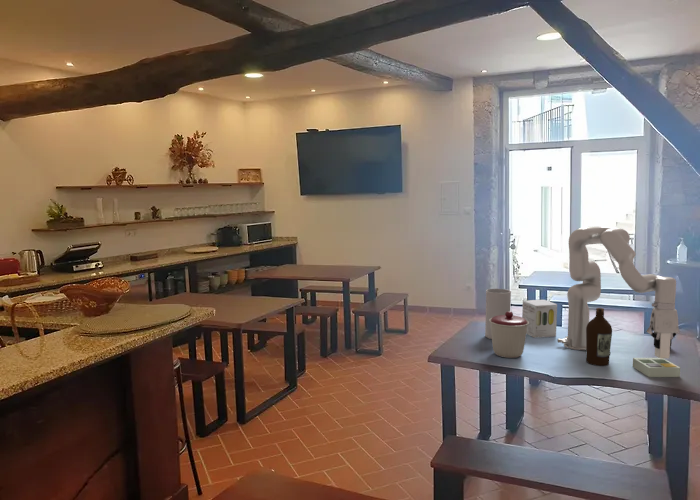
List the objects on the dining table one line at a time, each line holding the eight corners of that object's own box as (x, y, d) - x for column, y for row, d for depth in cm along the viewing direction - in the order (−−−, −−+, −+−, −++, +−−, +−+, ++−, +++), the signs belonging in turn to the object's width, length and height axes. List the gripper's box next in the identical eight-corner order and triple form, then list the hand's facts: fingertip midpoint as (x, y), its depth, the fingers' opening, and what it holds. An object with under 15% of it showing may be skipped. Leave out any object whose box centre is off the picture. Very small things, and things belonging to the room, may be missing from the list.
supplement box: (534, 338, 283) (535, 305, 280) (521, 331, 295) (522, 300, 293) (556, 336, 285) (558, 304, 283) (543, 330, 298) (544, 299, 296)
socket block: (648, 377, 224) (649, 367, 224) (632, 366, 237) (633, 357, 237) (679, 376, 224) (680, 366, 224) (661, 366, 237) (662, 357, 237)
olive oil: (579, 359, 247) (582, 306, 244) (599, 358, 249) (602, 305, 246) (595, 367, 236) (597, 311, 233) (615, 365, 239) (618, 310, 236)
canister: (486, 358, 249) (487, 314, 247) (490, 347, 266) (491, 306, 264) (527, 362, 243) (528, 317, 241) (528, 351, 260) (530, 308, 258)
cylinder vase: (512, 340, 278) (513, 293, 275) (488, 340, 278) (489, 293, 275) (505, 333, 291) (507, 288, 288) (482, 334, 291) (483, 288, 288)
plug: (659, 358, 229) (661, 326, 228) (654, 355, 233) (656, 324, 232) (669, 358, 229) (671, 326, 228) (663, 355, 233) (665, 324, 232)
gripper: (649, 308, 225) (647, 350, 227) (689, 307, 225) (687, 350, 227) (640, 304, 233) (638, 345, 235) (678, 303, 233) (676, 345, 235)
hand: (662, 347), depth 231 cm, fingers closed on plug, 4 cm apart
